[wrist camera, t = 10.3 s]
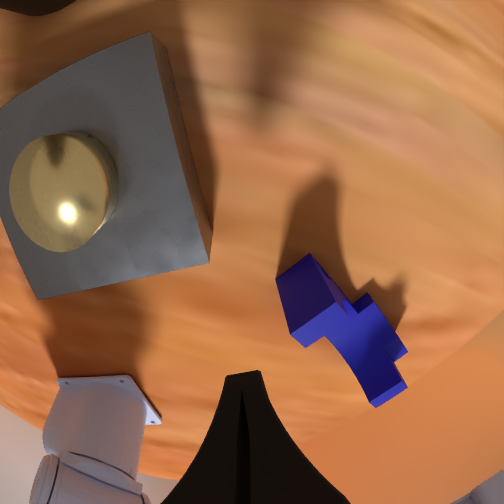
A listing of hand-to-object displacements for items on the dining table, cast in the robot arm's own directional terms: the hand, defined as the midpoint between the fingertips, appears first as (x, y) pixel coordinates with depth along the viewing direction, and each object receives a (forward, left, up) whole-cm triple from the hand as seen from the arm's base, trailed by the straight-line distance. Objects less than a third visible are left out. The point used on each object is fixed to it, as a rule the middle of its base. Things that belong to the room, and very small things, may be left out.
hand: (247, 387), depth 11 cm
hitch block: (-7, +9, -10) cm, 15 cm away
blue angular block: (+7, -6, -10) cm, 14 cm away
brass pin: (-7, +9, -10) cm, 15 cm away
